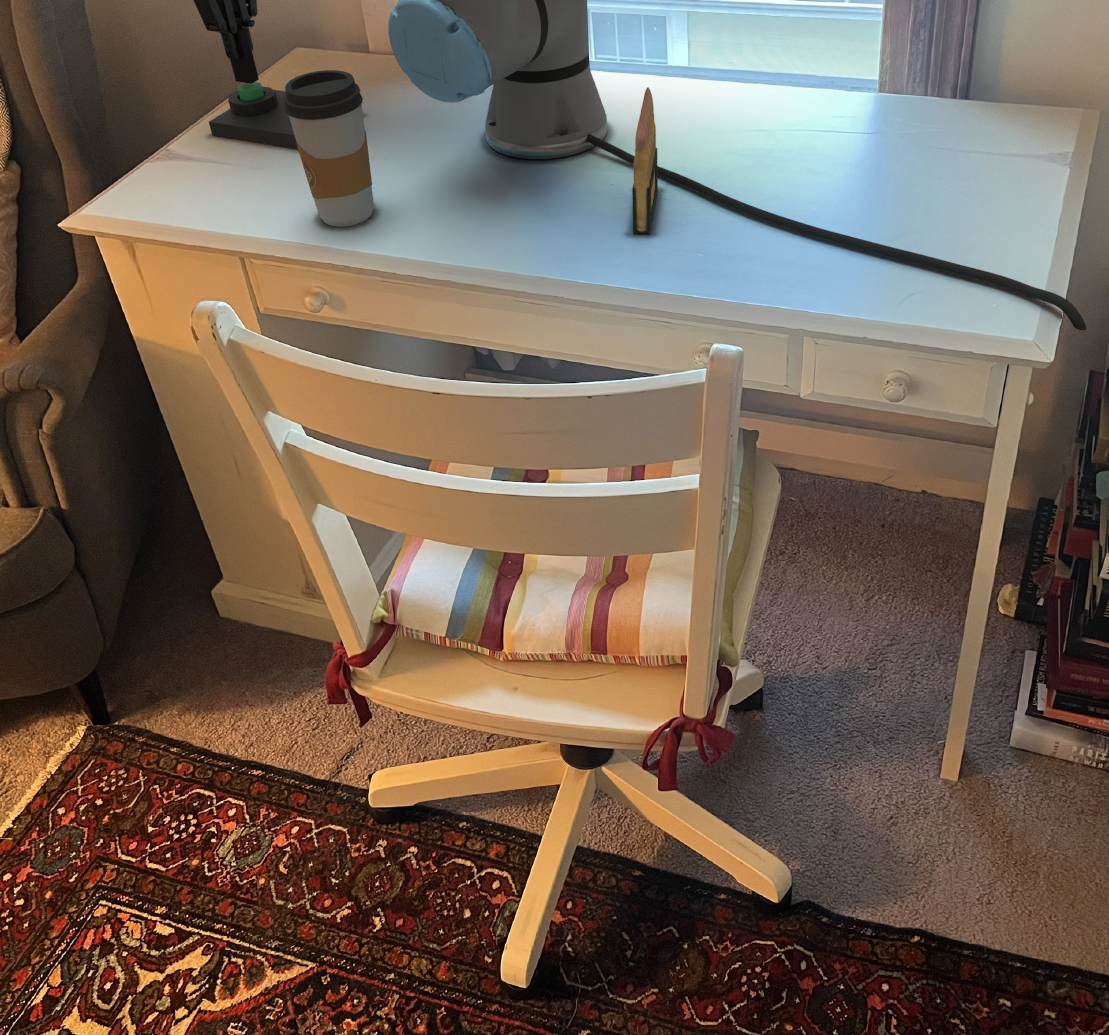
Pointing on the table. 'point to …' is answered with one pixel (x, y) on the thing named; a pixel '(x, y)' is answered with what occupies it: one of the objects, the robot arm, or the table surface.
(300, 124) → the coffee cup
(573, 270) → the table surface
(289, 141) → the scale
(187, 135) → the table surface
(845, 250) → the table surface
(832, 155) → the table surface
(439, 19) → the robot arm
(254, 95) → the button
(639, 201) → the ammunition clip
